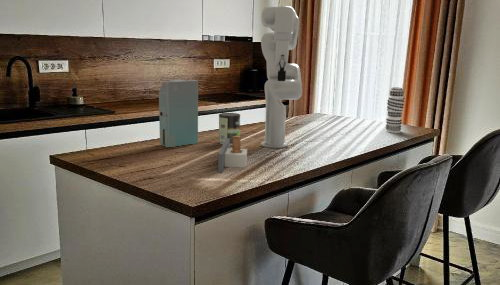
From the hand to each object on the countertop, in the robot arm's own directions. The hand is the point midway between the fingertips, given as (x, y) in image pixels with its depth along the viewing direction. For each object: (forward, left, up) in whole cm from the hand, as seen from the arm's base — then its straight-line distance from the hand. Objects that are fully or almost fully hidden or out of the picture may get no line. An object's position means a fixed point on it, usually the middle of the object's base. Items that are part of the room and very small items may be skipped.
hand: (281, 79), depth 191 cm
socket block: (+17, -17, -32) cm, 40 cm away
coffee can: (-24, -24, -33) cm, 47 cm away
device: (-17, -47, -33) cm, 60 cm away
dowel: (+17, -17, -31) cm, 39 cm away
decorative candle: (-70, +66, -33) cm, 102 cm away
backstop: (+17, -13, -33) cm, 39 cm away
